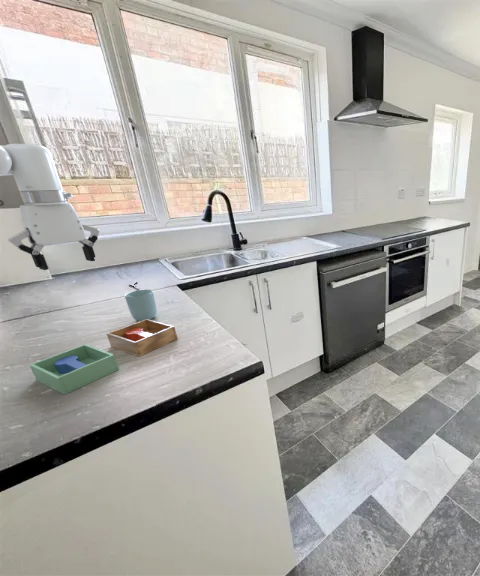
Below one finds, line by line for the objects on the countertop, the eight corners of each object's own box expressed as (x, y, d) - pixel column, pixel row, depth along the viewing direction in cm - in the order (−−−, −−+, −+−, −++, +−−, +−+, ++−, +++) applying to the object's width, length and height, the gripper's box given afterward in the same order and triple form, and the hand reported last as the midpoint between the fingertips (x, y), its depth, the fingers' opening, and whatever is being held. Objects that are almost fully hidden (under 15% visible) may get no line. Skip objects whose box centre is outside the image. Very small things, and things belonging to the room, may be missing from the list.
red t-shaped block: (161, 341, 95) (159, 332, 94) (145, 347, 91) (143, 339, 90) (140, 334, 99) (137, 326, 98) (124, 340, 95) (121, 332, 95)
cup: (163, 313, 116) (156, 288, 113) (152, 322, 109) (144, 296, 106) (140, 315, 115) (132, 290, 112) (128, 324, 108) (119, 297, 104)
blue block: (98, 372, 80) (94, 362, 79) (76, 381, 76) (72, 372, 75) (76, 362, 84) (72, 354, 83) (54, 371, 80) (50, 362, 79)
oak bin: (138, 356, 87) (134, 342, 86) (111, 346, 93) (106, 333, 91) (177, 339, 97) (174, 326, 95) (150, 331, 103) (146, 318, 101)
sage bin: (64, 394, 72) (57, 378, 71) (36, 380, 78) (29, 364, 76) (119, 369, 82) (114, 354, 80) (90, 357, 87) (85, 343, 86)
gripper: (80, 196, 86) (100, 256, 92) (-14, 200, 71) (16, 271, 77) (95, 197, 83) (114, 258, 89) (-1, 200, 68) (29, 274, 74)
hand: (68, 264), depth 83 cm, fingers open, 9 cm apart
